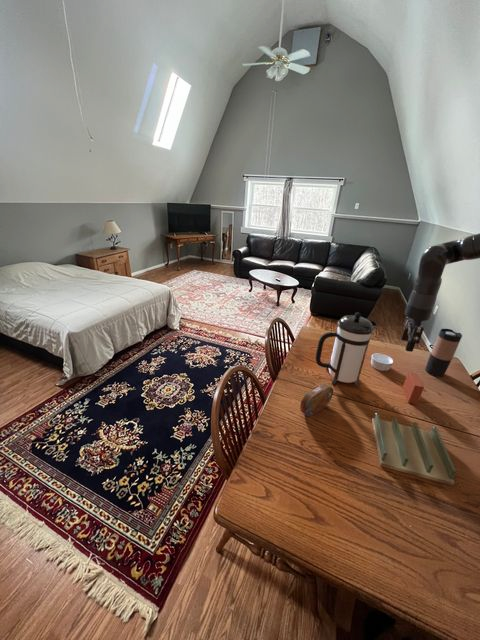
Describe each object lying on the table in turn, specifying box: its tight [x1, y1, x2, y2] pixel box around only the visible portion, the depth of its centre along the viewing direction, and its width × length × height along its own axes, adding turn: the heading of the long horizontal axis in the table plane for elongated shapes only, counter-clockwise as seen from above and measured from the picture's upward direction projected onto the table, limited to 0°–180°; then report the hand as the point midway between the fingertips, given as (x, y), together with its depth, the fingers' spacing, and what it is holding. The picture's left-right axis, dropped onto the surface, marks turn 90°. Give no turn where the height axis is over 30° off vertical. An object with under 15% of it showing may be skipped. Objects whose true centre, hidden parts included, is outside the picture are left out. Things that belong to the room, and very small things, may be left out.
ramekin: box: [370, 352, 394, 372], centre depth 121 cm, size 9×9×4 cm
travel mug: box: [424, 328, 463, 378], centre depth 115 cm, size 8×8×20 cm
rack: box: [371, 412, 457, 487], centre depth 81 cm, size 18×18×4 cm
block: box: [402, 371, 425, 405], centre depth 102 cm, size 3×9×8 cm, turn 163°
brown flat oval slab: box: [299, 383, 334, 417], centre depth 94 cm, size 15×3×8 cm, turn 126°
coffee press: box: [315, 312, 375, 388], centre depth 106 cm, size 17×16×30 cm
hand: (406, 345), depth 98 cm, fingers open, 8 cm apart
